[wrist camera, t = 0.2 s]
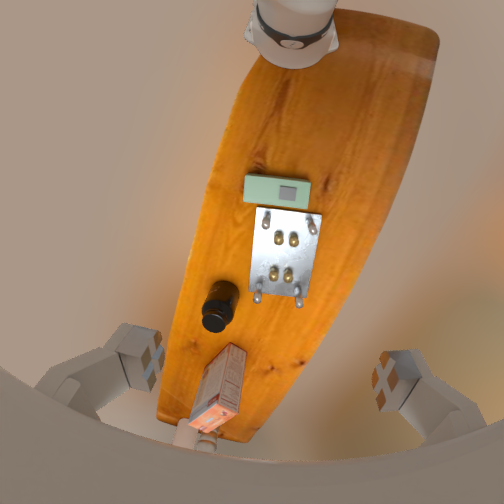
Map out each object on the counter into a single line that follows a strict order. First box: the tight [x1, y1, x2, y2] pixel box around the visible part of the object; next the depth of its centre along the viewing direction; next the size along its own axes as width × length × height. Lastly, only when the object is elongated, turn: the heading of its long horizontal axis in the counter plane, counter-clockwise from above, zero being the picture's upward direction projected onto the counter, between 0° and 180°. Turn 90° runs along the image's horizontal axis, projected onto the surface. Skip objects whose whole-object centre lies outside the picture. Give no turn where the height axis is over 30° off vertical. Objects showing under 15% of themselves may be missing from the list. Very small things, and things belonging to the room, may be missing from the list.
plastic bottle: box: [197, 425, 221, 453], centre depth 73 cm, size 6×7×20 cm
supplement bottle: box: [202, 281, 239, 333], centre depth 58 cm, size 7×7×12 cm
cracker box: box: [188, 343, 247, 433], centre depth 62 cm, size 14×6×21 cm, turn 144°
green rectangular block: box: [243, 173, 311, 209], centre depth 51 cm, size 12×5×5 cm, turn 85°
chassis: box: [249, 206, 322, 308], centre depth 55 cm, size 19×13×7 cm
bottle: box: [171, 418, 199, 450], centre depth 73 cm, size 8×8×30 cm
